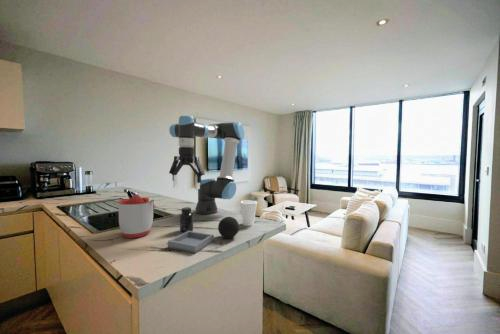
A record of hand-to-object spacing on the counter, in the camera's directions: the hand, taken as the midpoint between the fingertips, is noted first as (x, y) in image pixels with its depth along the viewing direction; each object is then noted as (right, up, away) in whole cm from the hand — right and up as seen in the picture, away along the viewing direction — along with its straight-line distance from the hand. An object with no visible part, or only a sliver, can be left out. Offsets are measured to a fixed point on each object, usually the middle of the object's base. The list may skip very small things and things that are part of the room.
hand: (186, 188), depth 112 cm
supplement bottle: (0, -23, +1) cm, 23 cm away
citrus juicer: (-23, -23, -4) cm, 32 cm away
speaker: (+22, -23, -7) cm, 33 cm away
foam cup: (+32, -22, +14) cm, 41 cm away
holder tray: (+7, -23, -16) cm, 29 cm away
